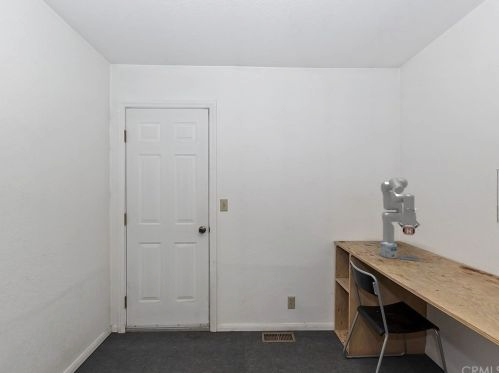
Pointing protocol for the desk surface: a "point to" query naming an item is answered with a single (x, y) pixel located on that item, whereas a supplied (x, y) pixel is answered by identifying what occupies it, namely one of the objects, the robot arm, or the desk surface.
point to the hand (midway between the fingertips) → (408, 233)
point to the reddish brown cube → (408, 230)
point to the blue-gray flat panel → (408, 258)
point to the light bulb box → (388, 250)
